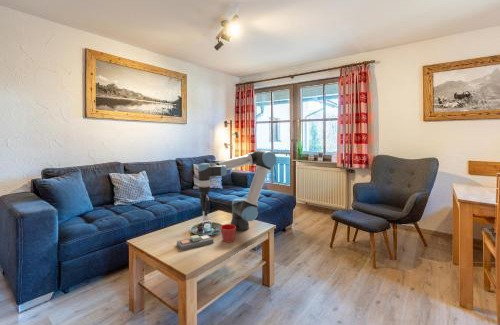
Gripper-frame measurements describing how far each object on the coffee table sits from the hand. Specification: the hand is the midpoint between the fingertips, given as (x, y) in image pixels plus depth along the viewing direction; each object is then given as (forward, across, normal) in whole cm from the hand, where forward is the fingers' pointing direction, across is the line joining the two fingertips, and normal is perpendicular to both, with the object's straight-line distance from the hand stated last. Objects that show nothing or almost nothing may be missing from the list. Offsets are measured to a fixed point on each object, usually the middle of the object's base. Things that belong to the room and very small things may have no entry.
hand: (205, 219), depth 176 cm
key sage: (+12, +1, -8) cm, 15 cm away
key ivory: (+14, +1, -1) cm, 14 cm away
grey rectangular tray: (+15, 0, -8) cm, 17 cm away
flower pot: (+16, +7, +14) cm, 22 cm away
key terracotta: (+14, 0, -15) cm, 20 cm away
